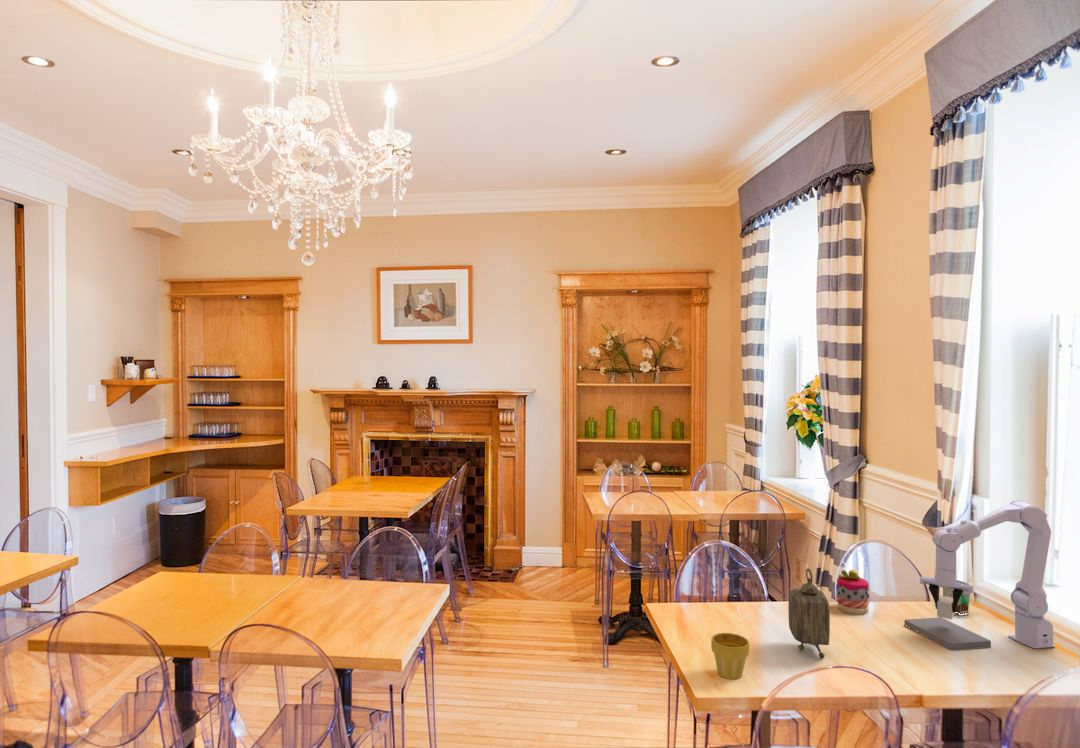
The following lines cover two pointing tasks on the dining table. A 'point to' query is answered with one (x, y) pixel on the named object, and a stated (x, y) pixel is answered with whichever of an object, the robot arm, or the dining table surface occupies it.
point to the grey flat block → (948, 633)
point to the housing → (945, 607)
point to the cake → (852, 593)
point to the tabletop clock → (809, 615)
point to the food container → (963, 601)
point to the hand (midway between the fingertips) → (946, 609)
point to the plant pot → (730, 654)
